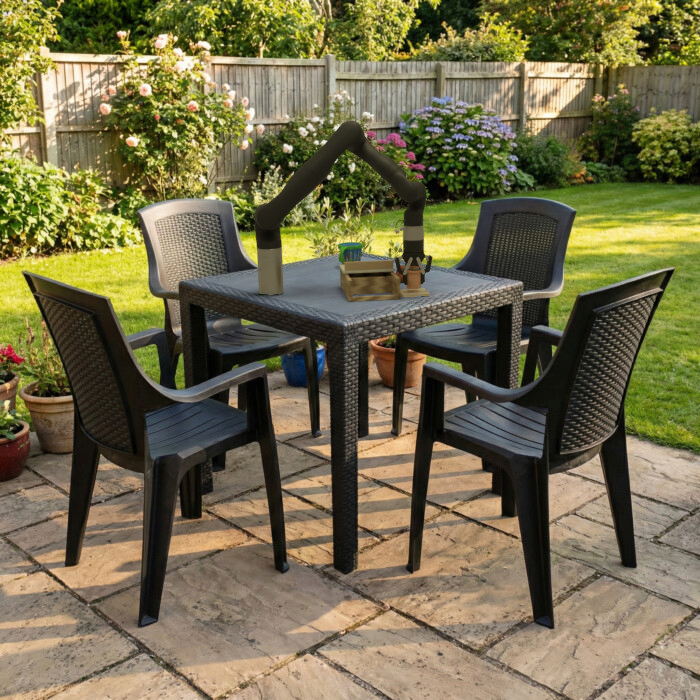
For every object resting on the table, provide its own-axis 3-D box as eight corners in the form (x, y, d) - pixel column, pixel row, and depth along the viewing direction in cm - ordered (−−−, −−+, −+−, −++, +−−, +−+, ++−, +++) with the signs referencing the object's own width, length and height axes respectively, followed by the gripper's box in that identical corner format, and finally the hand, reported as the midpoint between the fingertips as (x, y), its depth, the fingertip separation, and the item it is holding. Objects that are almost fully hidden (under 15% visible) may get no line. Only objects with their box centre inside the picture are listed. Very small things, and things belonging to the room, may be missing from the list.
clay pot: (407, 289, 317) (407, 270, 315) (404, 286, 323) (404, 267, 321) (423, 288, 318) (423, 269, 316) (419, 285, 323) (419, 266, 321)
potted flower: (394, 284, 339) (394, 219, 332) (386, 279, 348) (386, 216, 342) (423, 282, 342) (423, 218, 336) (415, 277, 351) (414, 215, 345)
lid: (343, 273, 321) (343, 262, 320) (339, 267, 334) (339, 256, 333) (395, 271, 323) (395, 260, 322) (389, 265, 336) (389, 254, 335)
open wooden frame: (349, 301, 311) (348, 281, 309) (340, 286, 337) (340, 267, 335) (400, 299, 313) (400, 278, 311) (387, 284, 339) (387, 265, 337)
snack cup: (349, 271, 369) (348, 247, 366) (330, 268, 375) (329, 245, 373) (371, 265, 380) (371, 242, 378) (352, 263, 387) (352, 240, 384)
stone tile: (402, 297, 315) (402, 294, 315) (397, 292, 325) (397, 289, 325) (429, 296, 316) (429, 293, 316) (424, 290, 326) (424, 288, 326)
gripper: (430, 235, 320) (430, 281, 324) (392, 237, 318) (392, 283, 323) (435, 238, 312) (435, 285, 317) (395, 240, 311) (395, 287, 315)
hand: (413, 284), depth 320 cm, fingers closed on clay pot, 5 cm apart
